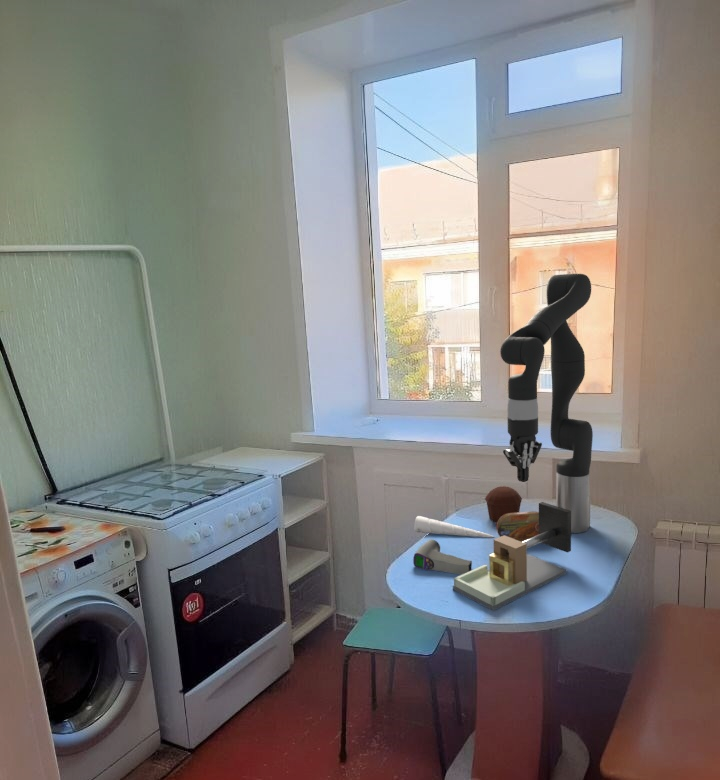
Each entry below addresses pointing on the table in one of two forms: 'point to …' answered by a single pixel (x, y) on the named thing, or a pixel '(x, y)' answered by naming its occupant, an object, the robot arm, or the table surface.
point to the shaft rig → (494, 593)
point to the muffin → (502, 502)
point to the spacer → (508, 569)
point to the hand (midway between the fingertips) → (523, 480)
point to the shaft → (552, 528)
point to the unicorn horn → (444, 528)
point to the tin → (519, 525)
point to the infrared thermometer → (439, 559)
